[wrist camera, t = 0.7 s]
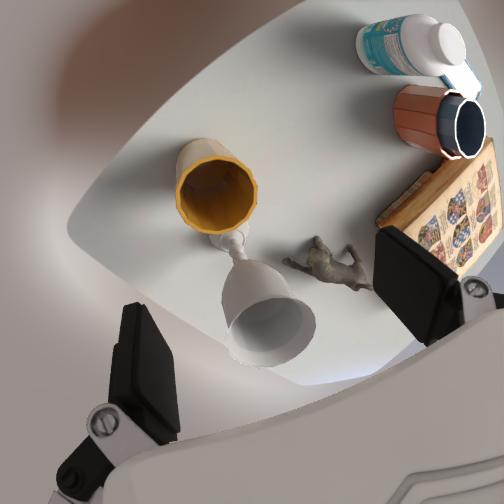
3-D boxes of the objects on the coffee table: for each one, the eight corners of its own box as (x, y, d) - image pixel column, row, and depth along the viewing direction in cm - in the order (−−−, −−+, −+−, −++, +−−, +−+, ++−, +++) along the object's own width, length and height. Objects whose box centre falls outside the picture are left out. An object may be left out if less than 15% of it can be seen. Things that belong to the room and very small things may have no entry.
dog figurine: (359, 248, 42) (387, 274, 36) (340, 279, 44) (364, 308, 38) (297, 222, 37) (322, 248, 31) (277, 259, 39) (297, 291, 33)
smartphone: (438, 25, 26) (483, 86, 31) (433, 25, 27) (478, 85, 32) (425, 54, 28) (472, 115, 34) (420, 54, 29) (467, 114, 35)
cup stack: (390, 84, 30) (448, 88, 21) (433, 86, 32) (487, 94, 23) (395, 148, 35) (450, 168, 26) (436, 143, 36) (487, 161, 27)
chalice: (191, 218, 34) (208, 323, 18) (244, 195, 34) (304, 280, 19) (215, 266, 37) (246, 378, 22) (263, 245, 38) (322, 345, 22)
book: (402, 307, 53) (483, 224, 49) (419, 326, 48) (503, 236, 43) (360, 226, 41) (465, 129, 36) (385, 246, 35) (492, 138, 31)
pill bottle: (386, 23, 26) (461, 12, 14) (402, 71, 30) (478, 76, 18) (344, 27, 26) (420, 8, 14) (362, 79, 30) (442, 82, 18)
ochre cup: (170, 146, 29) (165, 169, 19) (224, 132, 30) (250, 147, 20) (183, 196, 32) (187, 243, 22) (235, 182, 33) (264, 222, 23)
